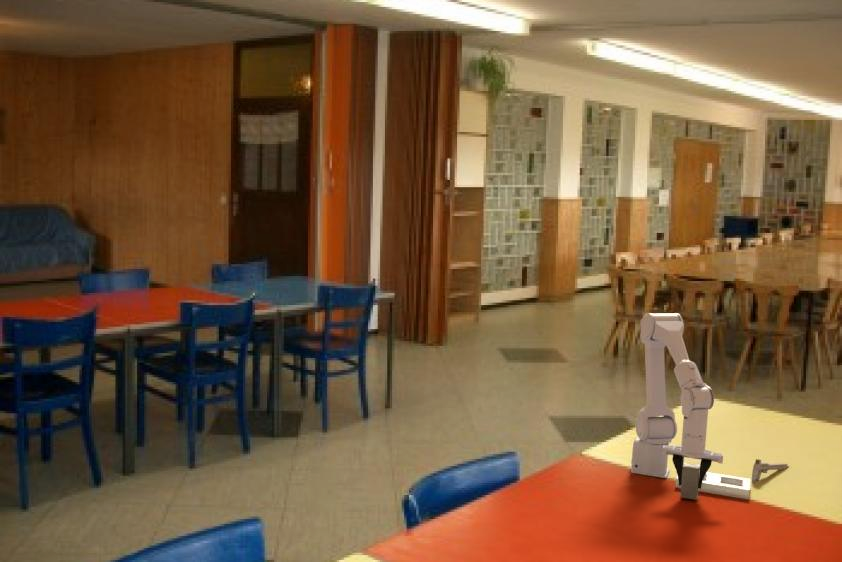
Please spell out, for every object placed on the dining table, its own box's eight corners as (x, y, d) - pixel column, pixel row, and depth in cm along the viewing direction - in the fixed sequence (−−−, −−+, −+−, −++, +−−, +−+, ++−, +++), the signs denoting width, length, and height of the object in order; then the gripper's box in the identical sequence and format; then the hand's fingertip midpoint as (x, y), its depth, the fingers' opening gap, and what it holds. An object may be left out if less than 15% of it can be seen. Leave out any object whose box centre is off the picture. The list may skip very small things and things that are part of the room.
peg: (680, 497, 222) (682, 466, 221) (681, 491, 226) (684, 461, 225) (696, 499, 221) (699, 469, 219) (698, 494, 224) (700, 464, 223)
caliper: (755, 483, 237) (757, 461, 236) (751, 482, 237) (753, 460, 236) (789, 468, 250) (791, 446, 250) (785, 466, 251) (787, 445, 250)
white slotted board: (675, 487, 231) (676, 478, 230) (679, 476, 239) (679, 467, 239) (748, 499, 224) (749, 490, 224) (749, 487, 232) (750, 478, 232)
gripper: (662, 433, 220) (658, 485, 222) (723, 442, 215) (719, 495, 216) (665, 426, 226) (662, 477, 228) (725, 434, 221) (720, 486, 223)
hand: (690, 485), depth 223 cm, fingers closed on peg, 4 cm apart
